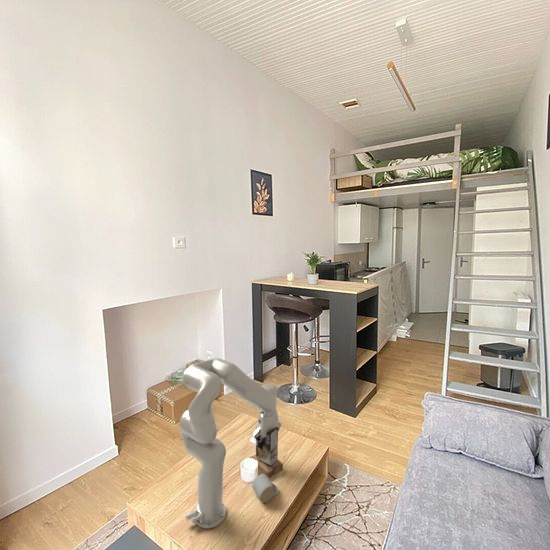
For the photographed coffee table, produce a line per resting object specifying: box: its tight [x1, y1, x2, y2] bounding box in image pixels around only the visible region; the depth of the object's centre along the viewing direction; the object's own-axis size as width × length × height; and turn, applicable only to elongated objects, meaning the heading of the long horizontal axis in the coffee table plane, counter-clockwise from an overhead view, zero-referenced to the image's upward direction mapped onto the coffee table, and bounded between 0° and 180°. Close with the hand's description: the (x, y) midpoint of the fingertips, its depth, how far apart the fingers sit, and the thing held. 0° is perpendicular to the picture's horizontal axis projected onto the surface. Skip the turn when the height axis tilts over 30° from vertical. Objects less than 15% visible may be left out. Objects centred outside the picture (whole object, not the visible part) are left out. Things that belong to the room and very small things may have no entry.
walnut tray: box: [250, 454, 284, 479], centre depth 150 cm, size 10×13×3 cm
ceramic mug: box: [252, 473, 280, 503], centre depth 133 cm, size 11×8×8 cm
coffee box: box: [255, 426, 279, 465], centre depth 149 cm, size 9×6×16 cm
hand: (266, 444), depth 149 cm, fingers closed on coffee box, 7 cm apart
